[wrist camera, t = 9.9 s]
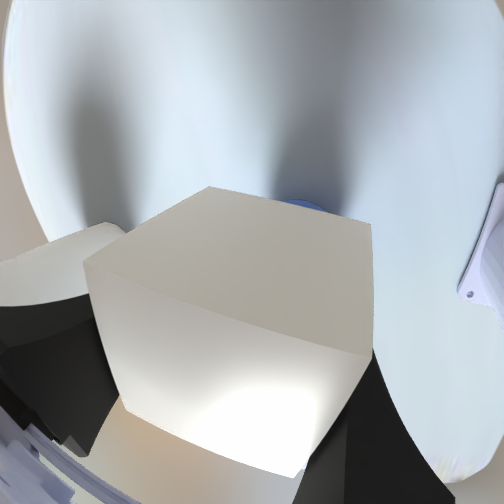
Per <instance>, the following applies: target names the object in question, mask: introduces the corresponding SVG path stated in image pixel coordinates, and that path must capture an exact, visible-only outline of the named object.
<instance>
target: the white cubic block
mask: <svg viewBox="0 0 504 504" xmlns="http://www.w3.org/2000/svg"><path fill="white" fill-rule="evenodd" d="M82 262H83V267H84V272H85V277H86V282H87V286H88V291H89V295H90V299H91V304H92V308H93V312H94V315H95V319H96V323H97V327H98V330H99V334H100V337H101V341H102V344H103V347H104V350H105V354H106V357H107V360H108V363H109V366H110V369H111V372H112V375H113V378H114V380H115V383H116V386H117V389H118V391H119V394H120V396H121V399H122V402H123V404H124V407H125V409H126V410H127V411H129V412H131V413H133V414H134V415H136V416H138V417H140V418H142V419H144V420H145V421H147V422H149V423H151V424H153V425H155V426H157V427H159V428H161V429H163V430H165V431H167V432H169V433H171V434H173V435H175V436H178V437H180V438H182V439H184V440H186V441H189V442H191V443H193V444H195V445H198V446H200V447H203V448H205V449H207V450H210V451H212V452H215V453H217V454H220V455H223V456H225V457H228V458H230V459H233V460H236V461H239V462H242V463H245V464H248V465H251V466H254V467H257V468H260V469H263V470H267V471H270V472H273V473H277V474H280V475H285V476H288V477H292V478H294V477H295V475H296V474H297V473H298V471H299V470H300V469H301V468H302V466H303V465H304V464H305V462H306V461H307V460H308V458H309V457H310V456H311V454H312V453H313V452H314V450H315V449H316V447H317V446H318V445H319V443H320V442H321V440H322V439H323V438H324V436H325V435H326V433H327V432H328V430H329V429H330V427H331V426H332V424H333V423H334V421H335V420H336V418H337V417H338V415H339V414H340V412H341V410H342V409H343V407H344V406H345V404H346V402H347V401H348V399H349V398H350V396H351V394H352V393H353V391H354V389H355V388H356V386H357V384H358V382H359V381H360V379H361V377H362V375H363V374H364V372H365V370H366V368H367V367H368V365H369V363H370V361H371V359H372V349H373V316H374V286H373V253H372V234H371V224H369V223H365V222H361V221H358V220H354V219H350V218H346V217H342V216H338V215H335V214H331V213H327V212H323V211H319V210H314V209H310V208H306V207H302V206H298V205H294V204H289V203H285V202H281V201H276V200H272V199H267V198H263V197H258V196H254V195H249V194H244V193H239V192H235V191H230V190H225V189H220V188H215V187H210V186H209V187H207V188H205V189H203V190H202V191H200V192H198V193H196V194H194V195H192V196H190V197H189V198H187V199H185V200H183V201H181V202H180V203H178V204H176V205H174V206H172V207H171V208H169V209H167V210H165V211H164V212H162V213H160V214H158V215H157V216H155V217H153V218H151V219H150V220H148V221H146V222H145V223H143V224H141V225H139V226H138V227H136V228H134V229H133V230H131V231H129V232H128V233H126V234H125V235H123V236H121V237H120V238H118V239H116V240H115V241H113V242H112V243H110V244H108V245H107V246H105V247H104V248H102V249H100V250H99V251H97V252H96V253H94V254H93V255H91V256H90V257H88V258H86V259H85V260H83V261H82Z"/></svg>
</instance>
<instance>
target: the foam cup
mask: <svg viewBox="0 0 504 504" xmlns="http://www.w3.org/2000/svg"><path fill="white" fill-rule="evenodd" d="M125 234H126V233H125V232H124V231H123V230H122V229H121V228H120V227H118V226H117V225H115V224H112V223H108V222H103V223H100V224H97V225H94V226H91V227H89V228H86V229H83V230H81V231H78V232H75V233H73V234H70V235H67V236H65V237H62V238H60V239H57V240H55V241H52V242H50V243H47V244H45V245H42V246H40V247H37V248H35V249H32V250H30V251H28V252H25V253H23V254H20V255H18V256H16V257H14V258H11V259H9V260H7V261H5V262H4V261H2V260H0V306H25V305H35V304H43V303H48V302H54V301H59V300H65V299H69V298H73V297H77V296H81V295H84V294H87V293H89V291H88V286H87V282H86V277H85V272H84V267H83V262H82V261H83V260H85V259H86V258H88V257H90V256H91V255H93V254H94V253H96V252H97V251H99V250H100V249H102V248H104V247H105V246H107V245H108V244H110V243H112V242H113V241H115V240H116V239H118V238H120V237H121V236H123V235H125Z"/></svg>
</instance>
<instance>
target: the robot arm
mask: <svg viewBox="0 0 504 504" xmlns="http://www.w3.org/2000/svg"><path fill="white" fill-rule="evenodd" d="M470 291H472V293H471V294H469V295H467V293H468V292H470ZM457 294H458V296H459V298H461V299H464V300H467V301H471V302H474V303H478V304H482V305H485V306H489V307H492V308H493V310H494V312H495V314H496V316H497V319H498V321H499V323H500V325H501V328H502V330H503V332H504V182H501V183H499V184H498V185H497V187H496V190H495V193H494V196H493V200H492V203H491V206H490V209H489V212H488V215H487V218H486V221H485V224H484V227H483V229H482V232H481V235H480V237H479V240H478V243H477V245H476V248H475V250H474V253H473V255H472V257H471V260H470V262H469V265H468V267H467V269H466V271H465V274H464V276H463V278H462V280H461V282H460V284H459V286H458V289H457ZM119 395H120V394H119V391H118V389H117V386H116V383H115V380H114V378H113V375H112V372H111V369H110V366H109V363H108V360H107V357H106V354H105V350H104V347H103V344H102V341H101V337H100V334H99V330H98V327H97V323H96V319H95V315H94V312H93V308H92V304H91V299H90V295H89V293H87V294H84V295H81V296H77V297H73V298H69V299H65V300H59V301H54V302H48V303H43V304H35V305H25V306H0V504H76V503H75V502H73V501H72V500H71V498H72V496H73V495H74V494H75V490H74V489H73V488H72V487H70V486H69V485H68V484H67V483H66V482H64V481H63V480H62V479H61V478H59V477H58V476H57V475H56V474H55V473H53V472H52V471H51V470H49V469H48V468H47V467H46V466H45V465H44V464H43V463H41V462H40V460H39V452H40V453H41V454H42V455H43V456H44V457H45V458H46V459H47V460H49V461H50V462H51V463H52V464H53V465H54V466H55V467H57V468H58V469H59V470H60V471H61V472H63V473H64V474H65V475H66V476H68V477H69V478H70V479H71V480H73V481H74V482H75V483H77V484H78V485H79V486H81V487H82V488H83V489H85V490H86V491H87V492H89V493H91V494H92V495H93V496H95V497H96V498H97V499H99V500H100V501H102V502H103V503H105V504H141V503H139V502H138V501H136V500H134V499H133V498H131V497H129V496H127V495H126V494H124V493H122V492H121V491H119V490H117V489H116V488H114V487H113V486H111V485H110V484H108V483H106V482H105V481H103V480H102V479H100V478H99V477H98V476H96V475H95V474H93V473H92V472H90V471H89V470H87V469H86V468H85V467H83V466H82V465H81V464H79V463H78V462H77V461H75V460H74V459H73V458H72V457H70V456H69V455H68V454H66V453H65V452H64V451H63V450H62V449H60V448H59V447H58V446H57V445H56V444H54V443H53V442H52V440H53V439H54V440H55V441H56V442H57V443H58V444H60V445H62V444H63V445H64V446H65V447H67V448H68V449H69V450H70V451H72V452H73V453H74V454H76V455H77V456H78V457H86V456H88V455H89V453H90V450H91V448H92V446H93V443H94V441H95V438H96V437H97V435H98V433H99V430H100V428H101V427H102V425H103V423H104V421H105V419H106V417H107V415H108V414H109V412H110V410H111V408H112V407H113V405H114V403H115V402H116V400H117V398H118V397H119ZM38 451H39V452H38ZM292 504H455V497H454V496H453V494H452V493H451V492H450V491H449V490H448V489H447V487H446V486H445V485H444V484H443V483H442V481H441V480H440V479H439V478H438V477H437V475H436V474H435V473H434V471H433V470H432V469H431V467H430V466H429V465H428V463H427V462H426V460H425V459H424V457H423V456H422V454H421V453H420V451H419V450H418V448H417V446H416V445H415V443H414V441H413V440H412V438H411V437H410V435H409V433H408V431H407V430H406V428H405V426H404V424H403V422H402V420H401V418H400V416H399V414H398V412H397V410H396V408H395V406H394V403H393V401H392V399H391V397H390V394H389V392H388V389H387V387H386V384H385V382H384V379H383V376H382V373H381V371H380V368H379V365H378V362H377V359H376V356H375V353H374V350H373V349H372V359H371V361H370V363H369V365H368V367H367V368H366V370H365V372H364V374H363V375H362V377H361V379H360V381H359V382H358V384H357V386H356V388H355V389H354V391H353V393H352V394H351V396H350V398H349V399H348V401H347V402H346V404H345V406H344V407H343V409H342V410H341V412H340V414H339V415H338V417H337V418H336V420H335V421H334V423H333V424H332V426H331V427H330V429H329V430H328V432H327V433H326V435H325V436H324V438H323V439H322V440H321V442H320V443H319V445H318V446H317V447H316V449H315V450H314V452H313V453H312V454H311V456H310V457H309V460H308V463H307V466H306V469H305V472H304V475H303V478H302V480H301V483H300V486H299V488H298V491H297V493H296V496H295V498H294V501H293V503H292Z"/></svg>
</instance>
